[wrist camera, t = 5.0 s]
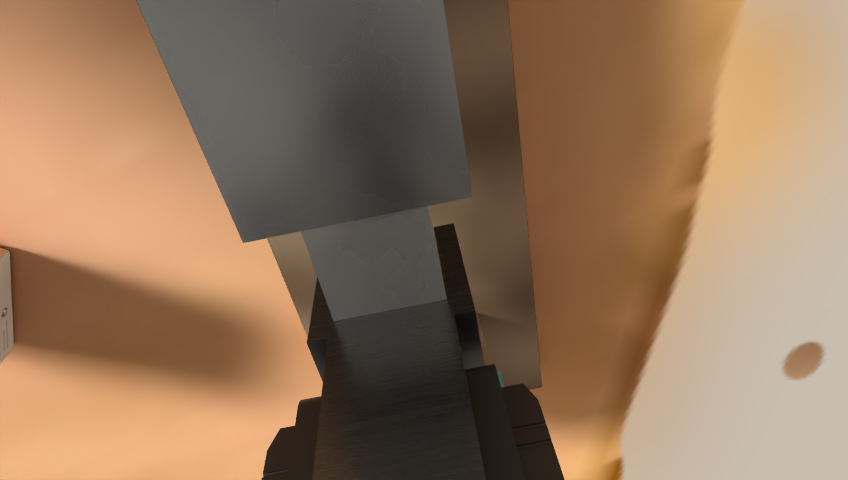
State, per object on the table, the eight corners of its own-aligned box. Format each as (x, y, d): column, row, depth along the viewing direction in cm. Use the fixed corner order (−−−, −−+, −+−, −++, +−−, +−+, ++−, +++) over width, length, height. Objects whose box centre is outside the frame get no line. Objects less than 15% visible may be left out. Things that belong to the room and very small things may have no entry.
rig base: (5, -451, 12) (-241, -686, 7) (447, -559, 11) (496, -881, 7) (344, 405, 27) (338, 509, 23) (535, 369, 27) (569, 466, 22)
